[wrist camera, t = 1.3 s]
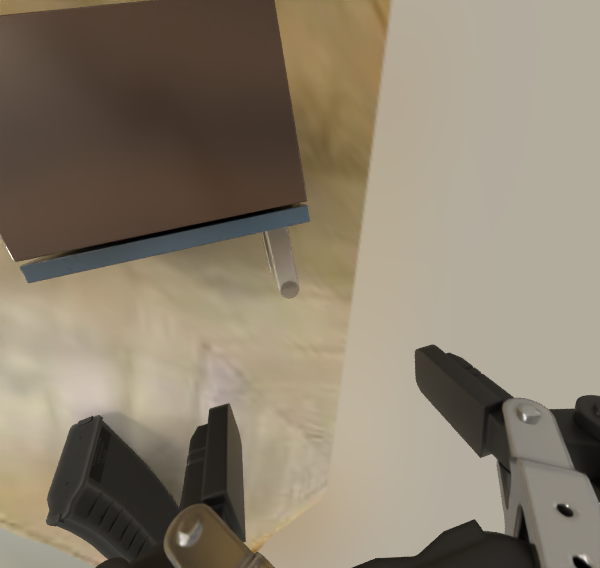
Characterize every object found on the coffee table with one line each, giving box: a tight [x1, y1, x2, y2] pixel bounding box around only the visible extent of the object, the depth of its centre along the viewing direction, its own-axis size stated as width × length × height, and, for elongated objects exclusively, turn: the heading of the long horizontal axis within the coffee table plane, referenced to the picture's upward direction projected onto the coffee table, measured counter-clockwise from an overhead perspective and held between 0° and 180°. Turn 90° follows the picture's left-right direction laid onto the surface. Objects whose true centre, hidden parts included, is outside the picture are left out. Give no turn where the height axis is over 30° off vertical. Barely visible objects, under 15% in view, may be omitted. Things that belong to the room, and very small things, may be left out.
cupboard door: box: [19, 203, 310, 298], centre depth 24 cm, size 6×16×14 cm, turn 100°
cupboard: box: [0, 0, 307, 262], centre depth 21 cm, size 10×16×14 cm, turn 100°
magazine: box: [46, 415, 179, 563], centre depth 35 cm, size 17×3×30 cm
